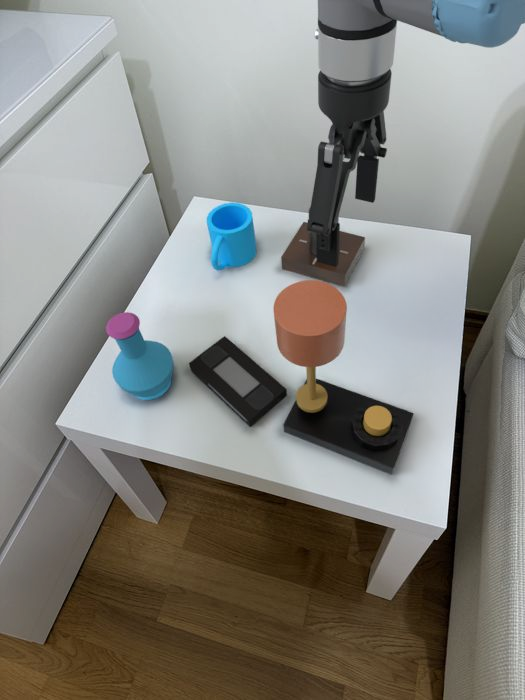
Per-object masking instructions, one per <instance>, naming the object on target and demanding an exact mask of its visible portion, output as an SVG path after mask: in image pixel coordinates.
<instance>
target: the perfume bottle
mask: <svg viewBox="0 0 525 700" xmlns="http://www.w3.org/2000/svg"><path fill="white" fill-rule="evenodd" d="M106 323H107V324H106V326H105V331H106V335H108V336H109V337H110V338H111V339H113V340H115V342H116V344H117V346H118V348H119V349H120V352H119V353H118V355H117V356H116V358H115V360H114V362H113V364H112V369H111V370H112V371H111V373H112V377H113V380H114V382H115V383H116V384H117V385H118V387H119V388H120V389H121V390H123V391H124V392H126V393H128V394H130V395H132V396H134V397H135V398H137V399H139V400H143V401H151V400H156V399H158V398H160V397H162V395H164V394H165V393H166V392H167V391H168V390H169V388H170V386H171V384H172V376H173V371H174V359H173V355H172V352H171V351H170V349H169V348H168V347H167V346H166V345H165V344H163V343H162V342H158V341H155V340H148V339H147V340H146V339H144V337H143V334H142V332H141V330H140V326H141V325H140V324H141V321H140V318H139V316H138V315H136V314H135V313H133V312H129V311H128V312H127V311H125V312H120V313H117V314H115V315H113V316H112V317H111V318H110V319H109V320H108V322H106Z"/></svg>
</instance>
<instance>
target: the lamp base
mask: <svg viewBox="0 0 525 700" xmlns="http://www.w3.org/2000/svg"><path fill="white" fill-rule="evenodd" d="M304 384H307V378H306V379H305V381H304V383H303V385H304ZM316 384H319V385H321V386H322V387H323V388H324V389H325V390H326V392H327V395H328V399H327V404H326V406H325V407H324V408H323V409H322V410H320V411H318V412H314V413H310V412H306V411H303V410H302V409H301V408H300V407H299V406H298V404H297V402H296V400H295V402H294V403H293V405H292V407H291V408H290V411H289V412H288V414H287V416H286V418H285V421H284V423H283V424H282V426H283V427H282V428H283V432H284V433H286V434H289V435H291V436H294V437H296V438H299V439H301V440H303V441H306V442H308V443H311V444H314V445H316V446H319V447H321V448H324V449H326V450H329V451H331V452H333V453H336V454H339V455H340V456H343V457H347V458H348V459H351V460H354V461H356V462H358V463H361V464H363V465H366V466H369V467H371V468H374V469H376V470H378V471H381V472H384V473H387V474H389V475H391V476H392V475H393V474H394V471H395V469H396V468H395V467H396V465H397V462H398V459H399V456H400V454H401V451H402V448H403V445H404V443H405V440H406V437H407V435H408V432H409V429H410V426H411V424H412V421H413V417H414V414H415V413H414V412H412V411H409V410H406V409H403V408H402V407H401V408H400V407H397V406H395V405H392V404H389V403H386V402H384V401H381V400H378V399H375V398H373V397H369V396H367V395H364V394H361V393H359V392H356V391H353V390H349V389H347V388H344V387H341V386H339V385H336V384H333V383H330V382H328V381H325V380H322V379H319V378H316ZM372 406H382V407H384V408H386V409H387V410H388V411H389V412H390V414H391V416H392V422H391V426H390V429H389V431H388V432H387V433H386V434H385V435H382V436H373V435H371V434H369V433H368V432H367V431H366V430H365V429H364V426H363V420H364V414H365V412H366V410H367V409H368V408H370V407H372Z"/></svg>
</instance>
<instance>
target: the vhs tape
mask: <svg viewBox="0 0 525 700" xmlns="http://www.w3.org/2000/svg"><path fill="white" fill-rule="evenodd" d="M188 366H189V368H190V370H191V372H192V373H193V374H194V375H195V376H196V377H197V378H198V380H200V381H201V382H202V383H203V384H204V385H205V386H206V387H207V388H208V389H209V390H211V391H212V392H213V394H214V395H216V396H217V397H218V399H220V400H221V401H222V402H223V403H224V404H225V405H226V406H227V407H228V408H229V409H230V410H231V411H233V413H235V414H236V415H237V416H238V417H239V418H240V420H242V421H243V422H244V423H245V424H246V425H247V426H248V427H250V428H251V427H252V426H253V425H254V424H256V423H257V422H258V421H259V420H261V419H262V418H263V417H264V416H265V415H266V414H267V413H269V412H270V411H271V410H272V409H274V407H275V406H277V405H278V404H279V403H281V401H283V400H284V399H285V398H286V397H287V396H288V391H287V388H286V387H285V386H284V385H283V384H281V383H280V382H279V381H278V380H277V379H275V377H273V376H272V375H271V374H270V373H269V372H267V371H266V370H265V369H264V368H263V367H262V366H260V365H259V364H258V363H257V362H256V361H254V359H252V358H251V357H250V356H249V355H248V354H247V353H245V352H244V351H243V350H242V349H241V348H239V347H238V346H237V345H236V344H235V343H234V342H233V341H232V340H230V339H229V338H228V337H226V335H224V336H223V337H221V338H220V339H219V340H217V341H216V342H214V343H213V344H211V346H209V347H208V348H207V349H205V350H204V351H203V352H201V353H200V354H199V355H198V356H196V357H195V358H194V359H192V360H191V361H189V363H188Z"/></svg>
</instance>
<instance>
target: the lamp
mask: <svg viewBox="0 0 525 700" xmlns="http://www.w3.org/2000/svg"><path fill="white" fill-rule="evenodd" d="M347 310H348V305H347V301H346V298H345V297H344V295H343V294H342V292H341V291H340V290H339V289H338V288H336V287H335V286H334V285H333V284H331V283H329V282H325V281H322V280H317V279H316V280H315V279H308V280H306V279H305V280H300V281H297V282H294V283H291V284H289V285H288V286H286V287H284V288H283V289H282V290H281V291H280V292H279V293H278V294H277V296H276V298H275V299H274V303H273V318H274V328H275V337H276V345H277V348H278V351H279V353H280V354H281V356H283V358H284V359H285V360H286V361H288V362H290V363H292V364H293V365H296V366H298V367H304V368H306V379H307V384H304V383H303V384H302V385H301V386H300V387H299V388H298V389H297V390H296V393H295V401H296V402H297V404H298V406H299V407H300V408H301V409H302V410H303V411H306V412H310V413H314V412H318V411H320V410H322V409H323V408H324V407H325V406H326V404H327V399H328V395H327V392H326V390H325V389H324V388H323V387H322V386H321V385H319V384H316V379H317V368H318V367H322V366H325V365H327V364H329V363H331V362H333V361H334V360H335V359H336V358H338V357H339V356H340V354H341V353H342V351H343V349H344V346H345V342H346V341H345V339H346V325H347Z"/></svg>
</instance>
